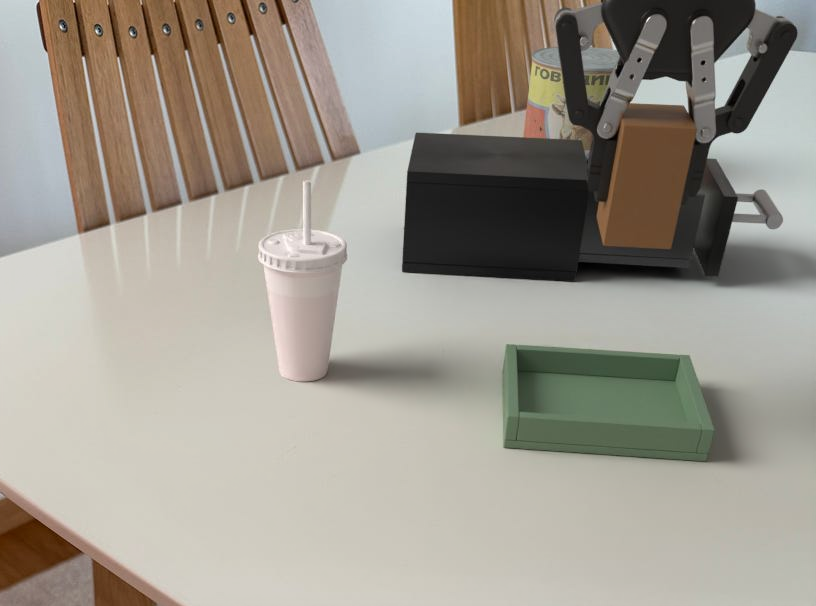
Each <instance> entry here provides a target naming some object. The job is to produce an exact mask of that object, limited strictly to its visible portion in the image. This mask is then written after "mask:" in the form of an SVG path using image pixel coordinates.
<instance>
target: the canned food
mask: <svg viewBox="0 0 816 606" xmlns="http://www.w3.org/2000/svg"><path fill="white" fill-rule="evenodd" d="M581 54H582V62H583V69H584V76H585V84H586V91H587V99H588V100H590V101H592V102H594V103H596V104H598V105H600V102H601V100H602V98H603V96H604V93H605V91H606V89H607V86H608V82H609V79H610V76H611V74H612V71H613V69H614V67H615V65H616V62H617V60H618V58H619V54H618V51H617V49H612V48H605V47H597V46H590V47H589V48H588V49H587V50H584V51H581ZM531 59H532V60H531V61H532V62H531V68H530V77H529V85H528V86H529V87H528V94H527V95H528V96H527V101H526V111H525V118H524V119H525V120H524V128H523V137H526V138H548V139H570V140H582V143H583V147H584V151H585V155H586V158H589V153H590V147H591V141H592V133H591V131H589V130H588V129H586V128H584V127H582V126H576V125H573V124H572V123H571V122H570V120H569V116H568V112H567V107H566V100H565V93H564V86H563V79H562V72H561V65H560V58H559V51H558V46H551V47H544V48H539V49H538V50H535V51H533V53H532V54H531Z"/></svg>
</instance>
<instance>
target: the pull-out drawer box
mask: <svg viewBox="0 0 816 606" xmlns="http://www.w3.org/2000/svg"><path fill="white" fill-rule="evenodd" d="M586 160H587V164H588V160H589V158H586ZM738 203H753V204H752V205H754V207H755V209H756V210H757V212H758V214H753V213H736V208H737V204H738ZM598 205H599V202H596V201H595V197H594V192H593V191H590V193H589V199H588V205H587V211H586V217H585V224H584V230H583V236H582V242H581V248H580V254H579V260H578V263H588V264H589V263H590V264H608V265H609V264H610V265H626V266H627V265H628V266H644V267H645V266H646V267H662V268H663V267H665V268H679V269H680V268H682V269H689V268H690V263H691V258H692V255H693V251H694V253H695V256H696V258H697V260H698V263H699V265H700V267H701V270H702V272H703V275H704V277H713V278H714V277H716V278H717V277H718V278H719V276H720V272H721V267H722V264H723V260H724V256H725V252H726V248H727V245H728V244H727V243H728V241H729V236H730V232H731V228H732V224H733V223H745V224H762V225H763V224H765V226H766V227H767V228H768V229H769V230H777V229H779V228H780V227H781V226H782V225H783V223H784V217H783V215H782V213H781V212H780V210H779V208H778V207H777V206H776V204H775V203H774V201H773V200H772V198H771V197H770V195H769V193H768V192H767V191H766V190H765V189H762V188H761V189H757V190H756V191H755V192H753V193H740V192H739V193H737V192H736V191H735V189H734V187H733V186H732V184H731V182H730V181H729V179H728V177H727V175H726V174H725V171H724V170H723V167H721V165H720V163H719V161H718V160H717V158H708V157H707V161H706V166H705V170H704V175H703V178H702V183H701V188H700V190H699V192H698V193H697V195H696V196H695V197H688V200H687V204H686V206H680V210H679V215H678V219H677V224H676V229H675V233H674V238H673V242H672V247H671V249H655V248H636V247H617V246H603V243H602V238H601V234H600V230H599V225H598V221H597V211H598Z"/></svg>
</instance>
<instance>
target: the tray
mask: <svg viewBox="0 0 816 606" xmlns="http://www.w3.org/2000/svg"><path fill="white" fill-rule="evenodd" d="M699 382H700V381H699V379H698V376H697V373H696V370H695V367H694V364H693V361H692V359H691V355H690V354H675V353H674V354H673V353H660V352H659V353H658V352H657V353H656V352H643V351H625V350H609V349H593V348H577V347H562V346H545V345H530V344H529V345H528V344H515V343H514V344H511V343H507V344H505V350H504V358H503V367H502V429H503V430H502V433H503V434H502V437H503V438H502V440H503V443H502V444H503V448H507V449H522V450H535V451H536V450H538V451H549V452H550V451H552V452H562V453H563V452H564V453H580V454H594V455H607V456H609V455H610V456H620V457H621V456H625V457H637V458H651V459H664V460H678V461H679V460H680V461H695V462H707V459H708V456H709V453H710V449H711V445H712V441H713V438H714V435H715V427H714V424H713V421H712V418H711V415H710V412H709V409H708V406H707V403H706V400H705V397H704V394H703V391H702V389H701V385H700V383H699Z"/></svg>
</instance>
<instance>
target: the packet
mask: <svg viewBox="0 0 816 606" xmlns="http://www.w3.org/2000/svg"><path fill="white" fill-rule="evenodd" d="M696 132H697V128H696V126H695V124H694V122H693V121H692V119H691V117H690V115H689V114H688V109H687V108H686V106H685V105H683V104H682V105H681V104H657V103H637V102H636V103H635V102H630V103H629V105H628V108H627V110H626V112H625V114H624V116H623V119H622V120H621V123H620V125H619V127H618V130H617V132H616V134H615V135H616V138H617V147H616V153H615V158H614V164H613V170H612V176H611V181H610V187H609V193H608V198H607V202H599V205H598V211H597V221H598V225H599V230H600V234H601V238H602V243H603V246H617V247H636V248H655V249H671V247H672V242H673V238H674V233H675V229H676V224H677V219H678V215H679V210H680V206H681V201H682V196H683V192H684V187H685V183H686V178H687V173H688V169H689V164H690V159H691V155H692V150H693V146H694V141H695V136H696Z"/></svg>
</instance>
